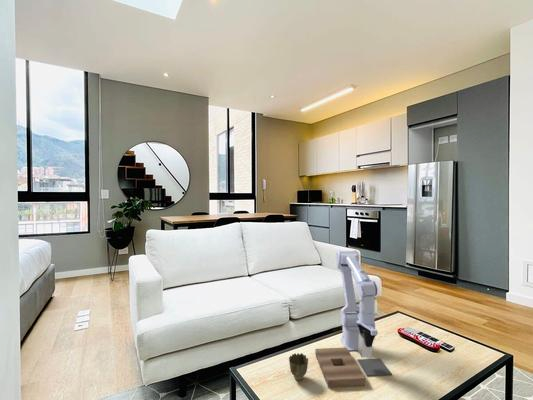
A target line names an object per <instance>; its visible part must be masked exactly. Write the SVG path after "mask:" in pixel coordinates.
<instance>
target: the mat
mask: <svg viewBox="0 0 533 400" xmlns="http://www.w3.org/2000/svg"><path fill="white" fill-rule="evenodd" d="M357 363H358V365H359V366H360V367H361V369H362V370H363V372H364V374H365V376H366V377H379V376H392V375H393V373H392V372H391V371H390V370H389V368H388V366H387V365H386V364H385V363H384V362H383V360H382V359H381V358H364V359H363V358H360V359H359V358H358V359H357Z"/></svg>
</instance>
